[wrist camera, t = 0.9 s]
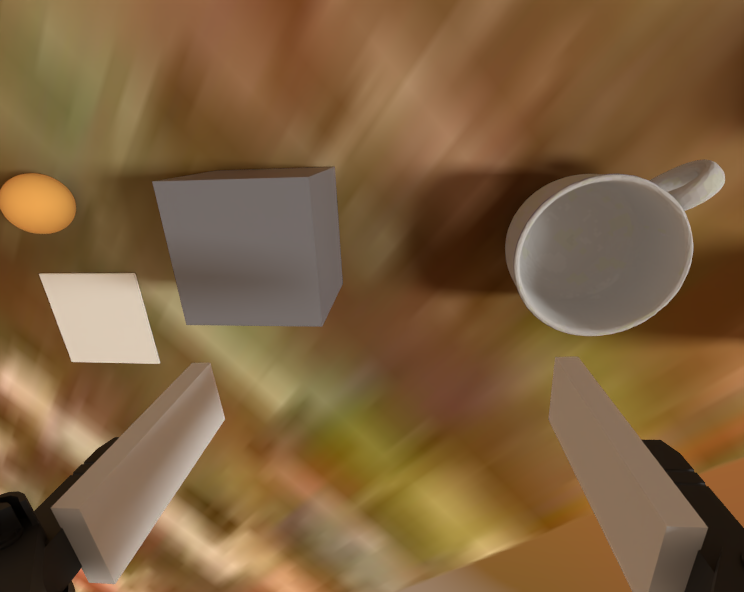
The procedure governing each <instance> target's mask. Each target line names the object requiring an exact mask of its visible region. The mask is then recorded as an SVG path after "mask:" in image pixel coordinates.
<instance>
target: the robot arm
mask: <svg viewBox="0 0 744 592" xmlns="http://www.w3.org/2000/svg"><path fill="white" fill-rule="evenodd" d="M224 420H225V417H224V413H223V410H222V406H221V402H220V398H219V394H218V391H217V387H216V383H215V379H214V375H213V371H212V368H211V364H210V363H192V364H191V365H190V366H189V367H188V368H187V369H186V370H185V371H184V372H183V373H182V374H181V375H180V376H179V377H178V378H177V379H176V380H175V381H174V382H173V383H172V384H171V385H170V386H169V387H168V388H167V389H166V390H165V391H164V392H163V393H162V394H161V395H160V397H159V398H158V399H157V400H156V401H155V402H154V403H153V404H152V405H151V406H150V407H149V408H148V409H147V410H146V411H145V412H144V413H143V414H142V415H141V416H140V417H139V418H138V419H137V420H136V421H135V422H134V423H133V424H132V425H131V426H130V427H129V428H128V429H127V430H126V431H125V432H124V433H123V434H122V435H121V436H120V437H115V438H113V439H111V440H110V441H108V442H107V443H105V444H104V445H102V446H101V447H99V448H98V449H97V450H96V451H95V452H94V453H93V454H92V455H91V456H90V457H89V458H88V459H87V460H86V461H85V462H84V464H81V465H80V466H79V467H78V468H77V469H76V470H75V471H74V472H73V475H70V476H69V477H68V478H67V479H66V480H65V481H64V482H63V483H62V484H61V485H60V486H59V487H58V488H57V489H56V490H55V491H54V492H53V493H52V494H51V495H50V496H49V497H48V498H47V499H46V500H45V501H44V502H43V503H42V504H41V505H40V506H39V507H38V508H37V509H36V510H35V511H33V509H32V507H31V505H30V503H29V501H28V499H27V498H26V496H25V494H23V493H21V492H8V493H4V494H1V495H0V592H75V588H74V585H73V583H72V579H73V578H74V577H75V575H76V574H77V573H78V571H79V570H80V569H81V568H82V570H83V572H84V574H85V576H86V577H87V579H88V581H89V583H107V584H116V582H117V581H118V579H119V578H120V576H121V575H122V573H123V572H124V570H125V569H126V567H127V566H128V564H129V563H130V561H131V560H132V558H133V557H134V555H135V553H136V552H137V550H138V549H139V547H140V546H141V544H142V543H143V541H144V540H145V538H146V537H147V535H148V534H149V532H150V531H151V529H152V528H153V526H154V525H155V523H156V522H157V520H158V519H159V517H160V516H161V514H162V513H163V511H164V510H165V508H166V507H167V505H168V504H169V502H170V501H171V499H172V498H173V496H174V495H175V493H176V492H177V490H178V489H179V487H180V486H181V484H182V483H183V481H184V480H185V478H186V477H187V475H188V474H189V472H190V471H191V469H192V468H193V466H194V465H195V463H196V462H197V460H198V459H199V457H200V456H201V454H202V453H203V451H204V450H205V448H206V447H207V445H208V444H209V442H210V441H211V439H212V438H213V436H214V435H215V433H216V432H217V430H218V429H219V427H220V426H221V424H222V423H223V421H224ZM549 421H550V423H551V426H552V428H553V430H554V432H555V434H556V436H557V438H558V440H559V442H560V444H561V446H562V448H563V450H564V452H565V454H566V456H567V458H568V460H569V462H570V465H571V467H572V469H573V471H574V473H575V475H576V477H577V479H578V481H579V483H580V485H581V487H582V489H583V491H584V493H585V495H586V497H587V499H588V501H589V504H590V506H591V508H592V510H593V512H594V514H595V516H596V518H597V520H598V522H599V524H600V526H601V528H602V530H603V532H604V534H605V536H606V538H607V540H608V542H609V544H610V546H611V549H612V551H613V553H614V555H615V557H616V559H617V561H618V563H619V565H620V567H621V569H622V571H623V573H624V575H625V577H626V579H627V581H628V583H629V585H630V587H631V589H632V592H744V528H743V527H742V526H741V524H740V523H739V522H738V521H737V520H736V519H735V517H734V516H733V515H732V514H731V513H730V511H729V510H728V509H727V508H726V507H725V506H724V504H723V503H722V502H721V501H720V500H719V499H718V498H717V496H716V495H715V494H714V493H713V492H712V490H711V489H710V488H709V487H708V486H706V485H705V482H704V481H703V480H702V479H701V477H700V476H699V475H698V474H697V473H695V472H694V469H693V468H692V467H691V466H690V465H689V463H688V462H687V461H686V460H685V459H684V458H683V456H682V455H681V454H680V453H679V452H677V451H676V450H674V449H673V448H671V447H670V446H669V445H667V444H666V443H664V442H663V441H661V440H641V439H640V438H639V436H638V435H637V434H636V432H635V431H634V430H633V428H632V427H631V426H630V424H629V423H628V422H627V421H626V419H625V418H624V417H623V415H622V414H621V413H620V411H619V410H618V409H617V407H616V406H615V405H614V403H613V402H612V401H611V400H610V398H609V397H608V396H607V394H606V393H605V392H604V390H603V389H602V388H601V386H600V385H599V384H598V383H597V381H596V380H595V379H594V377H593V376H592V375H591V373H590V372H589V371H588V369H587V368H586V367H585V365H584V364H583V363H582V362H581V360H580V359H579V358H578V357H555V365H554V374H553V383H552V392H551V401H550V410H549Z"/></svg>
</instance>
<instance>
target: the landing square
mask: <svg viewBox="0 0 744 592" xmlns="http://www.w3.org/2000/svg"><path fill="white" fill-rule="evenodd" d="M39 276H40V278H41V281H42V284H43V286H44V289H45V292H46V294H47V297H48V300H49V302H50V305H51V308H52V310H53V313H54V316H55V318H56V321H57V324H58V326H59V329H60V332H61V334H62V337H63V340H64V342H65V345H66V348H67V350H68V353H69V356H70V358H71V361H72V362H102V363H149V364H159V363H160V360H159V357H158V353H157V349H156V346H155V342H154V339H153V335H152V331H151V328H150V324H149V321H148V317H147V313H146V310H145V306H144V303H143V299H142V295H141V292H140V288H139V285H138V281H137V277H136V274H135V273H40V274H39Z"/></svg>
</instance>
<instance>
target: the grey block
mask: <svg viewBox="0 0 744 592" xmlns="http://www.w3.org/2000/svg"><path fill="white" fill-rule="evenodd" d="M152 182H153V187H154V191H155V195H156V199H157V203H158V208H159V212H160V216H161V220H162V224H163V229H164V233H165V237H166V241H167V245H168V250H169V254H170V258H171V262H172V266H173V271H174V275H175V279H176V283H177V287H178V292H179V296H180V300H181V304H182V308H183V313H184V317H185V321H186V325H241V326H323V324H324V322H325V320H326V318H327V315H328V313H329V311H330V309H331V307H332V305H333V303H334V301H335V299H336V296H337V294H338V292H339V290H340V288H341V286H342V284H343V281H342V266H341V252H340V237H339V222H338V208H337V193H336V178H335V167H311V168H279V169H247V170H216V171H210V172H204V173H199V174H193V175H187V176H181V177H176V178H170V179H164V180H158V181H152Z"/></svg>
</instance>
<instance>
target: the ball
mask: <svg viewBox="0 0 744 592" xmlns="http://www.w3.org/2000/svg"><path fill="white" fill-rule="evenodd" d="M0 209H1V211H2V213H3V214H4V216H5V217H6V218H7V219H8V220H9V221H10V222H11V223H12V224H13V225H15V226H16V227H18V228H20V229H22V230H25V231H27V232H31V233H36V234H50V233H55V232H58V231H60V230H62V229H64V228H66V227H67V226H68V225H69V224H70V223H71V222H72V220H73V219H74V217H75V213H76V203H75V199H74V197H73V195H72V193H71V192H70V191H69V189H68V188H67V187H66V186H65V185H64V184H62V183H61V182H59V181H58V180H56V179H54V178H52V177H50V176H46V175H43V174H36V173H27V174H21V175H17V176H15V177H13V178H11V179H9V180H8V181H7V182H6V183H5V184H4V185H3V186H2V188H1V189H0Z"/></svg>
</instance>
